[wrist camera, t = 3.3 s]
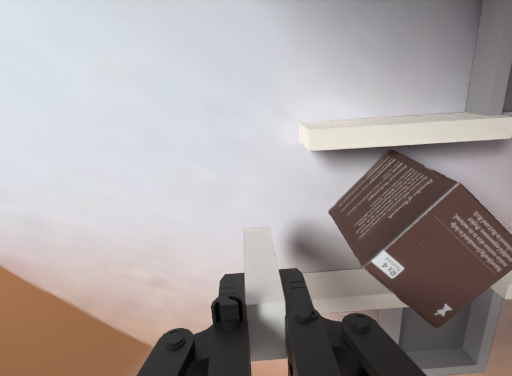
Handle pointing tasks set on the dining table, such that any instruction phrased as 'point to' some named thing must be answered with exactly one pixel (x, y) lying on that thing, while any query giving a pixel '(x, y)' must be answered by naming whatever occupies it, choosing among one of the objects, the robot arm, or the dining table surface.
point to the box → (423, 237)
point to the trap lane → (426, 132)
